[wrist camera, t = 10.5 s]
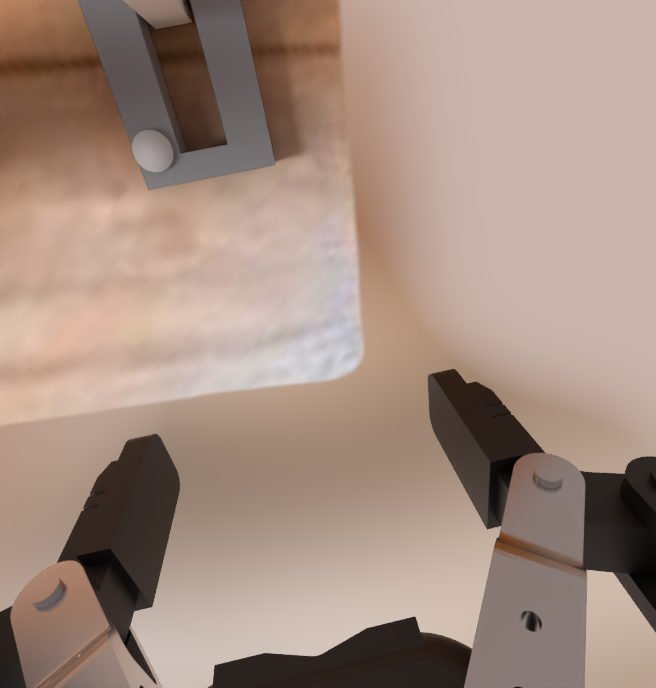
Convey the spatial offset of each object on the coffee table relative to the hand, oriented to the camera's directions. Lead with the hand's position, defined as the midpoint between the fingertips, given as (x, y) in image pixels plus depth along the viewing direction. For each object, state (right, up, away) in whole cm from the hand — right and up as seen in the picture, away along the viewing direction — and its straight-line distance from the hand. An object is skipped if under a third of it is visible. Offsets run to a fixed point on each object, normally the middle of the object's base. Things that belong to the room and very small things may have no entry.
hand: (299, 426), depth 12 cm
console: (-10, +24, +17) cm, 32 cm away
